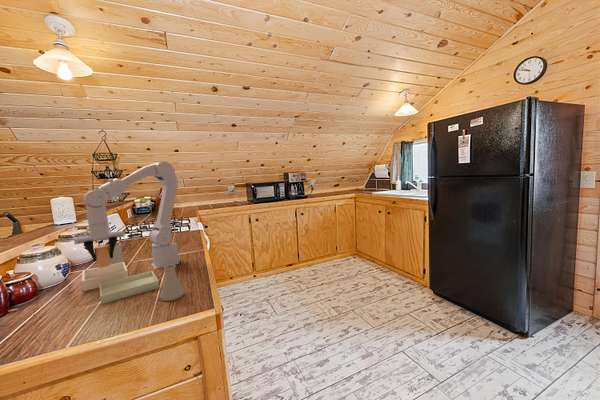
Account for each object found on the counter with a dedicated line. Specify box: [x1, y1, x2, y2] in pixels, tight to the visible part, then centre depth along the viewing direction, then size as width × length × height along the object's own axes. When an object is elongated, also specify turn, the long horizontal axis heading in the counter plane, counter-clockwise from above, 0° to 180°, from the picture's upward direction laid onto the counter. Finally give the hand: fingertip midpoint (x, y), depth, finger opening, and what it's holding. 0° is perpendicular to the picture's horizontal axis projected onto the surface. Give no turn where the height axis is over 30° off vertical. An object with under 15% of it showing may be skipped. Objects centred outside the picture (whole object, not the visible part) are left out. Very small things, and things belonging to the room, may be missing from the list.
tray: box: [99, 270, 160, 305], centre depth 88 cm, size 16×12×2 cm
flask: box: [159, 264, 186, 302], centre depth 82 cm, size 7×7×10 cm
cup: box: [103, 242, 124, 264], centre depth 113 cm, size 7×10×9 cm
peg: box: [94, 244, 112, 268], centre depth 95 cm, size 4×4×7 cm
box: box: [81, 261, 129, 292], centre depth 96 cm, size 13×13×4 cm
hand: (103, 259), depth 95 cm, fingers closed on peg, 4 cm apart
